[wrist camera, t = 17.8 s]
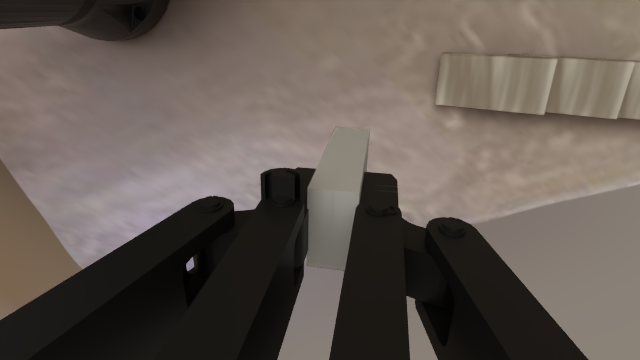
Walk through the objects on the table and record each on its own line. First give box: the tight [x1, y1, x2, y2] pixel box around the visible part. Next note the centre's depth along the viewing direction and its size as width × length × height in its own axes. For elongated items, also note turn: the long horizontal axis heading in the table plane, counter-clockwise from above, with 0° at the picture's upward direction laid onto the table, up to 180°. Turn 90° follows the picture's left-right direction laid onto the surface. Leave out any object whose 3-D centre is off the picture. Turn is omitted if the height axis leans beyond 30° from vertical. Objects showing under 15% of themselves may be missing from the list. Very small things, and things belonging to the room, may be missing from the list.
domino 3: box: [575, 57, 640, 120], centre depth 36 cm, size 2×5×10 cm
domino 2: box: [508, 54, 635, 119], centre depth 37 cm, size 2×5×10 cm
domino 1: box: [435, 52, 558, 115], centre depth 38 cm, size 2×5×10 cm
